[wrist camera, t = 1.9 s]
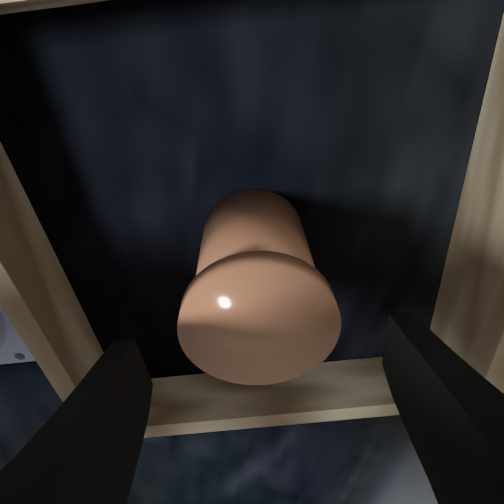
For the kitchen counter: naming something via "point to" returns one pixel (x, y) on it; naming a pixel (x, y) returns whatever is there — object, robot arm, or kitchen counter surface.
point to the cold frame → (322, 376)
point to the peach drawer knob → (257, 295)
